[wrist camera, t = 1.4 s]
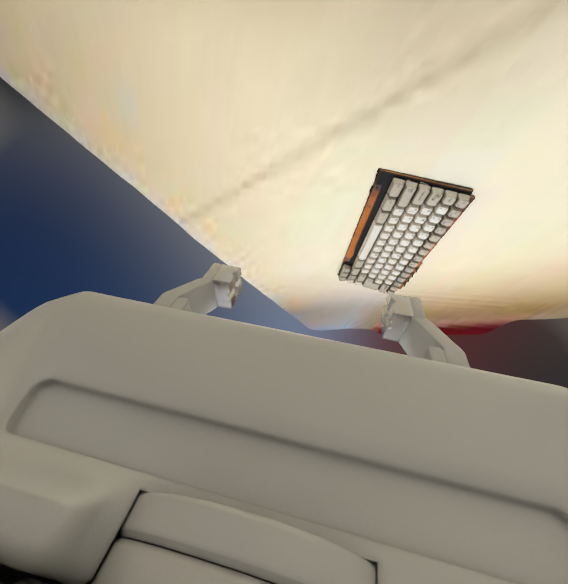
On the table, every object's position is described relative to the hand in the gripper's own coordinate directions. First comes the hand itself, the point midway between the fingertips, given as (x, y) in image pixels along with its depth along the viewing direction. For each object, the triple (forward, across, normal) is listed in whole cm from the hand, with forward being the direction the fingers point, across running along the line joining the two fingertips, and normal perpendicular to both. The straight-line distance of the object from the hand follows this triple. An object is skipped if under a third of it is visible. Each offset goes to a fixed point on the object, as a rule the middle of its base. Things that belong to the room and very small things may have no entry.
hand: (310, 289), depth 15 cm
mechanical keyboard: (+52, -15, +23) cm, 59 cm away
